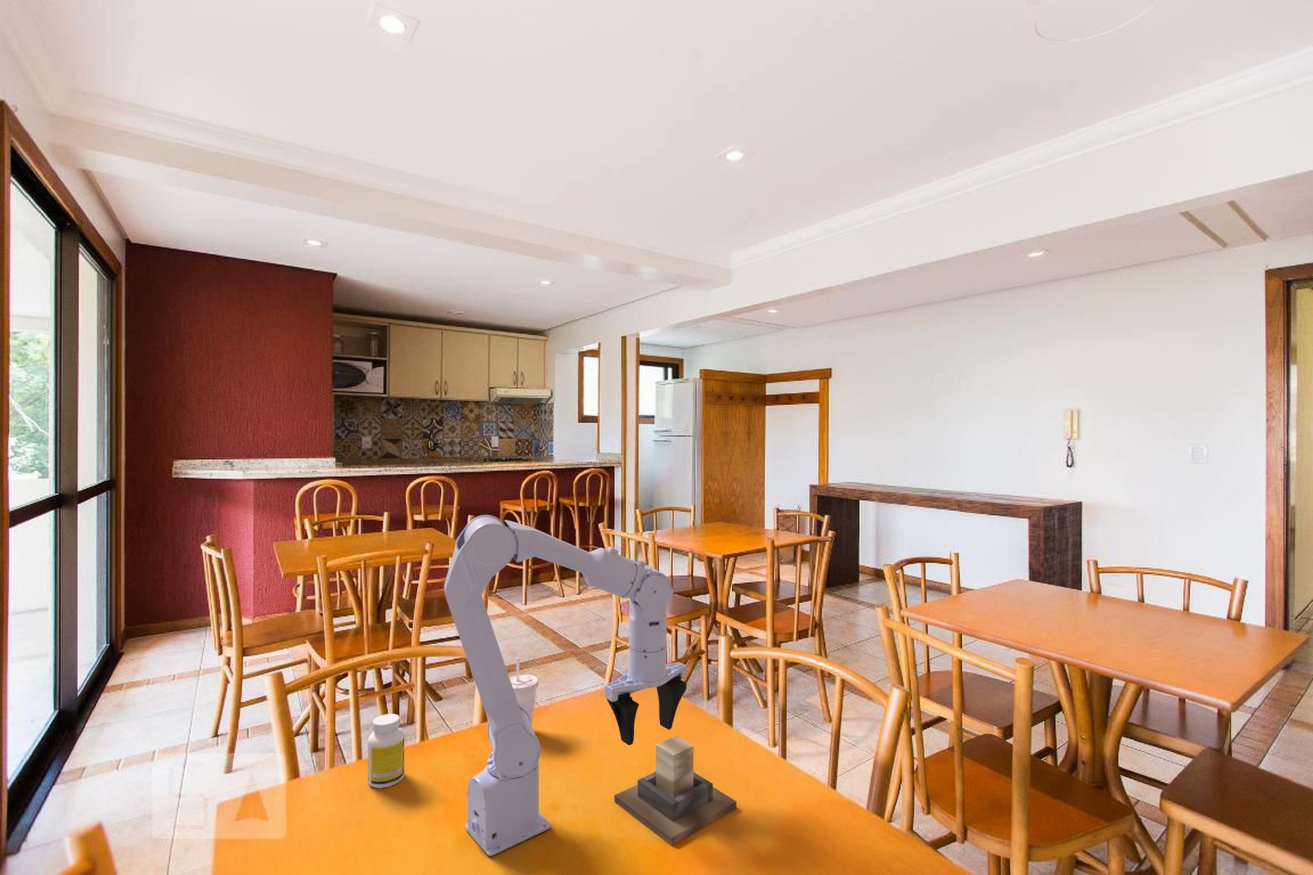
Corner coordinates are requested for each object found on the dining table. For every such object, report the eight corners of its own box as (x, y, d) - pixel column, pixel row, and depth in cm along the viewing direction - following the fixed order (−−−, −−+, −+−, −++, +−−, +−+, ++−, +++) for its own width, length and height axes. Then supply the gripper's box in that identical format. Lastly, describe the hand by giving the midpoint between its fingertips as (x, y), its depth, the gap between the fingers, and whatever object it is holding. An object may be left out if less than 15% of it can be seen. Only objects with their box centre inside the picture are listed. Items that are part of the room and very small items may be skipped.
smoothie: (500, 728, 118) (500, 654, 117) (533, 721, 120) (533, 649, 120) (507, 744, 112) (507, 666, 112) (542, 736, 114) (542, 660, 114)
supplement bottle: (410, 779, 101) (410, 718, 100) (376, 793, 97) (376, 730, 97) (395, 766, 104) (395, 708, 104) (362, 779, 100) (361, 719, 100)
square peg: (673, 809, 91) (673, 754, 91) (655, 796, 94) (655, 744, 94) (693, 798, 94) (693, 746, 93) (675, 787, 97) (675, 735, 97)
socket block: (671, 845, 85) (671, 819, 85) (614, 801, 95) (614, 778, 94) (736, 807, 93) (736, 784, 93) (677, 771, 103) (677, 750, 103)
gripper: (666, 629, 103) (666, 711, 103) (593, 649, 94) (592, 738, 94) (695, 641, 98) (695, 727, 98) (621, 662, 89) (620, 757, 89)
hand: (646, 734), depth 96 cm, fingers open, 7 cm apart
